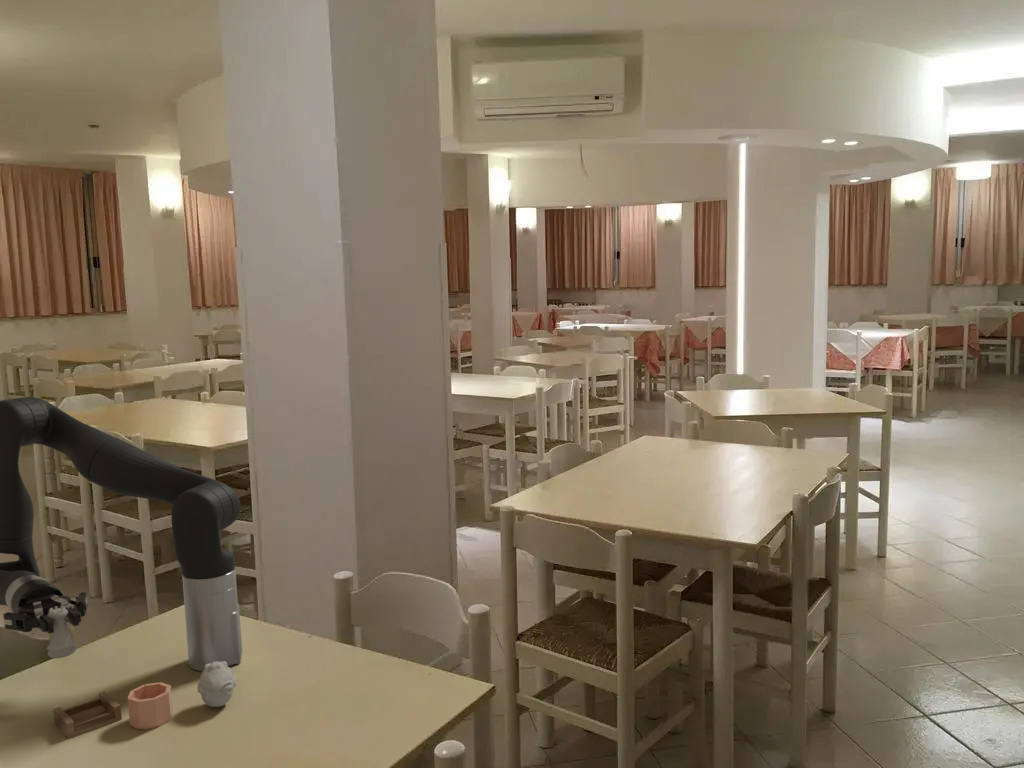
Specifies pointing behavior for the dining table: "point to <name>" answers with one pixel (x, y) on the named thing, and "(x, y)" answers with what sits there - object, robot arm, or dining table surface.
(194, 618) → the robot arm
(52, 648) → the rook chess piece
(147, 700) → the cup
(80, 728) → the trough
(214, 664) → the frog figurine
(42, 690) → the dining table surface
